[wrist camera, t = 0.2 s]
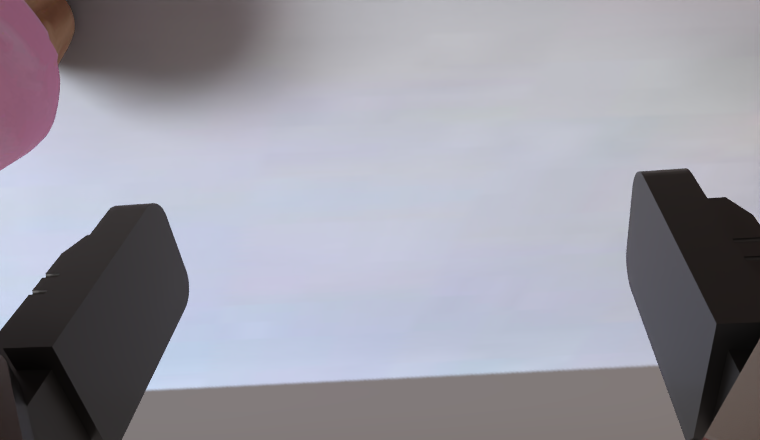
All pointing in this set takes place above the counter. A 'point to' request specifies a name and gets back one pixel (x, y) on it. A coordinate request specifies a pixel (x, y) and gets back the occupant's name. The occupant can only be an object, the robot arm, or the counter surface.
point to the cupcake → (30, 71)
